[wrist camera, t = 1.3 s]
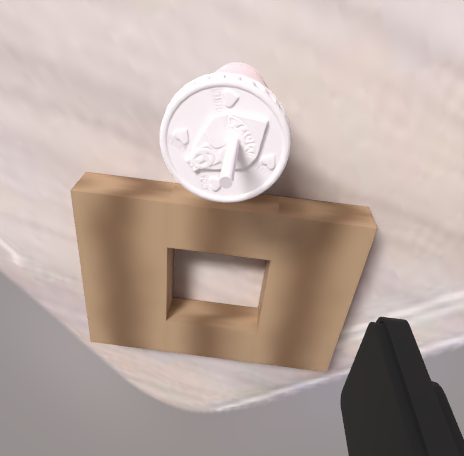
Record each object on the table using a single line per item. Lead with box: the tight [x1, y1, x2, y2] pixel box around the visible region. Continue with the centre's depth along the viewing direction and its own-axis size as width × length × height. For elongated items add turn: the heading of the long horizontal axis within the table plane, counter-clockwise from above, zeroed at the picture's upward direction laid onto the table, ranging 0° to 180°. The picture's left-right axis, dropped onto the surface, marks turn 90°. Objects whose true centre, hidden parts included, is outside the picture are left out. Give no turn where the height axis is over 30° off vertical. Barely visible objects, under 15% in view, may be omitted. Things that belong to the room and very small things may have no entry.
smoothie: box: [160, 62, 291, 203], centre depth 22 cm, size 6×6×14 cm
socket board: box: [71, 172, 377, 372], centre depth 35 cm, size 22×16×3 cm
